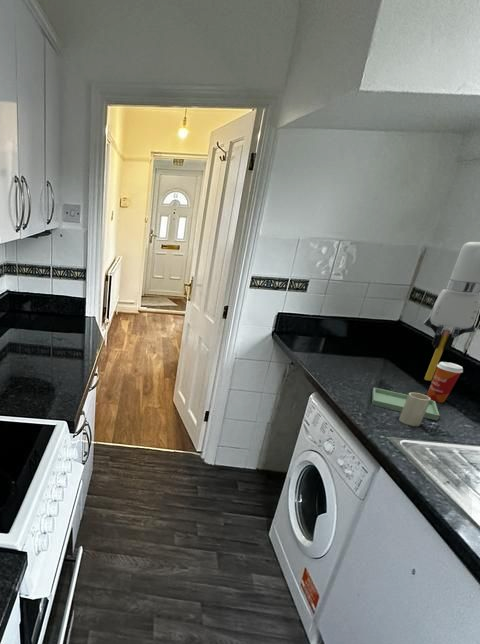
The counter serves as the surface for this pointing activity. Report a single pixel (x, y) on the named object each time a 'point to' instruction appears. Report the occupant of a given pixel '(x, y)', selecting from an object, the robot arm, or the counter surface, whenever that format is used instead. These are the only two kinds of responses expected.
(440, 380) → the paper cup
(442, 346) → the pencil
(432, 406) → the tray
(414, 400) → the pen cup
